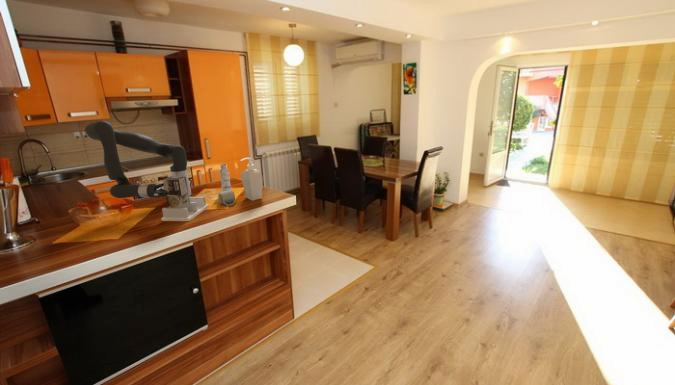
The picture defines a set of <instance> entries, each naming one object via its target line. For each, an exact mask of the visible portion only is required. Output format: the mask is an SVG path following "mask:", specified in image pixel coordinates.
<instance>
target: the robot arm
mask: <svg viewBox="0 0 675 385" xmlns="http://www.w3.org/2000/svg"><path fill="white" fill-rule="evenodd" d="M84 132H85V134H86V135H87V136H88V137H89V138H90V139H92V140H94V141H98V142H100V143H101V145H102V149H103V164H104V168H105V172H106V174H107V176H108V179H109V181H110V180H111V181H115V182H116V184H114V185H112V186H111V187H110V189H109V194H110V195H111V197H113V198H115V199H128V198H135V197H136V198H149V199H151V198H153V199H157V198H158V199H159V198H161V197H163V198H166V196H170V195H178V193H177V191H169V190H166V189H164V185H162V184H161V183H154V182H153V183H152V182H151V183H150V182H149V183H133V184H132V183H131V182H130V180H129V178H128V177H127V176H126V175H125V173H124V169H123V167H122V163H121V160H120V157H119V153H118V147H117V145H118V146H122V147H125V148H127V149H132V150H135V151H138V152H143V153H147V154H148V153H149V154H154V155H158V156H161V157H164V158H166V159H169V160H172V165H171V166H170V167H169V168H170V174H171V177H186V182H187V188H188V195H189V197H191V195H192V190H191V184H190V180H189V174H188V170H187V166H188V159H187V152H186V149H185V148H184V146H182V145H178V144H167V143H163V142H160V141H157V140H155V139H154V138H152V137H150V136H147V135H146V134H145V135H144V134H141V133H139V132H138V133H137V132H131V131H122V130H116V129H114V127H113V125H112V124H111V123H110V122H108V121H107V120H98V121H92V122H90V123H88V124H87V125H86V126H85V127H84Z"/></svg>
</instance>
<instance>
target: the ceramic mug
mask: <svg viewBox="0 0 675 385" xmlns="http://www.w3.org/2000/svg"><path fill="white" fill-rule="evenodd" d="M235 195H236V194H235V193H234V191H233V189H232V190H228V191H225V192H222V191H221V192H219V193H218V194H217V196H218V201H219V203H220V204H221V205H225V206H226V207H232V206H234V205H235V203H236V196H235Z"/></svg>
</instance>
